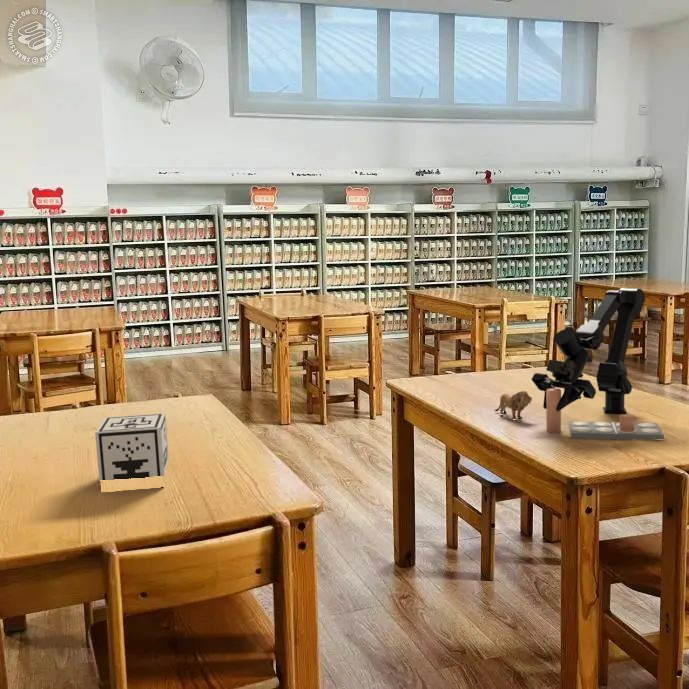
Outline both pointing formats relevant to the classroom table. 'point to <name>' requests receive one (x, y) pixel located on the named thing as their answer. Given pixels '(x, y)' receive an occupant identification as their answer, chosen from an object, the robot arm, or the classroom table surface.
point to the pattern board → (615, 429)
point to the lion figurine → (514, 403)
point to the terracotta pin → (553, 410)
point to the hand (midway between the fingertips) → (550, 409)
